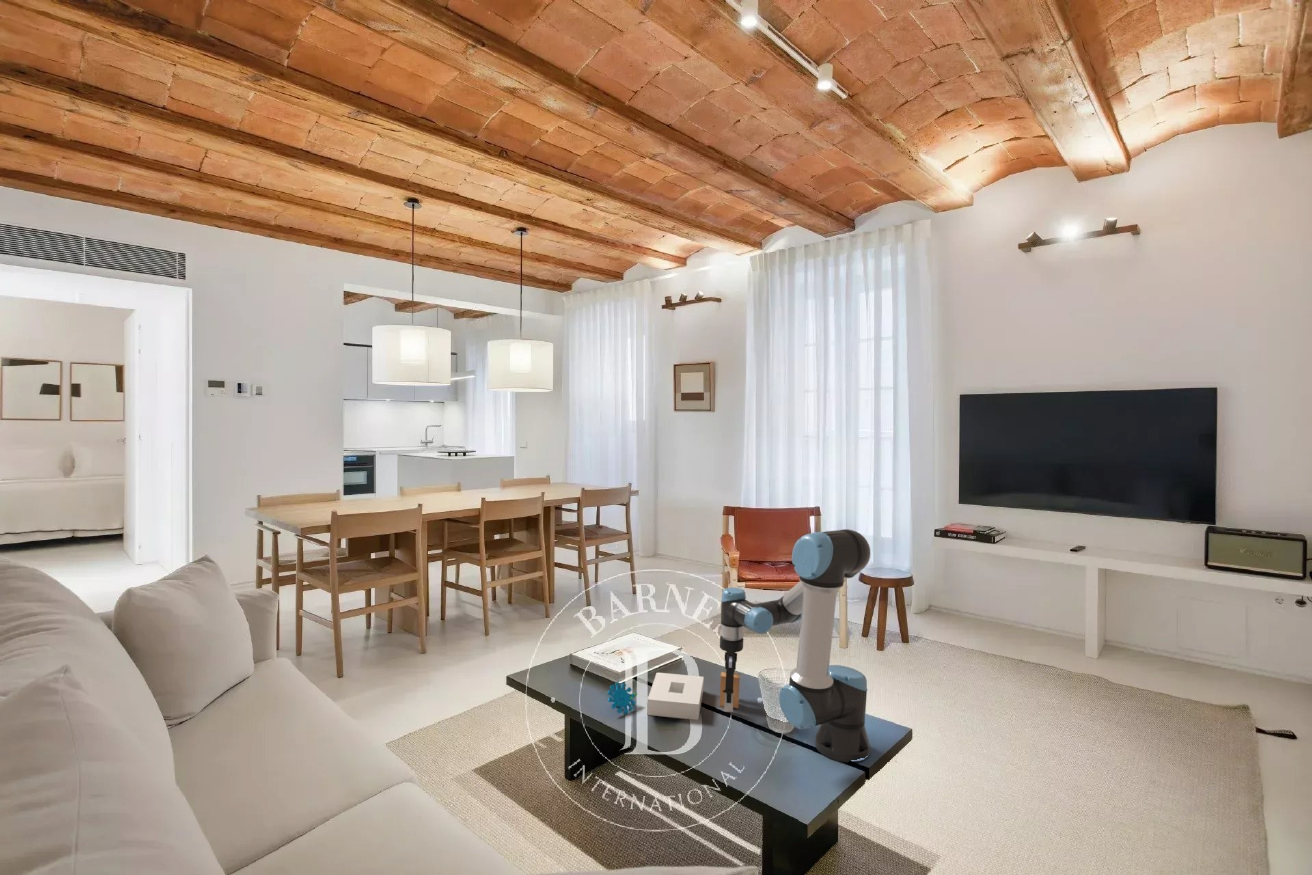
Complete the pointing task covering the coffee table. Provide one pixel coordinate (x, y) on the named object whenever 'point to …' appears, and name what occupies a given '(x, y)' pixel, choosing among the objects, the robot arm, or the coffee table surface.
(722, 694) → the peg
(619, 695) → the blue virus model
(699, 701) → the block
